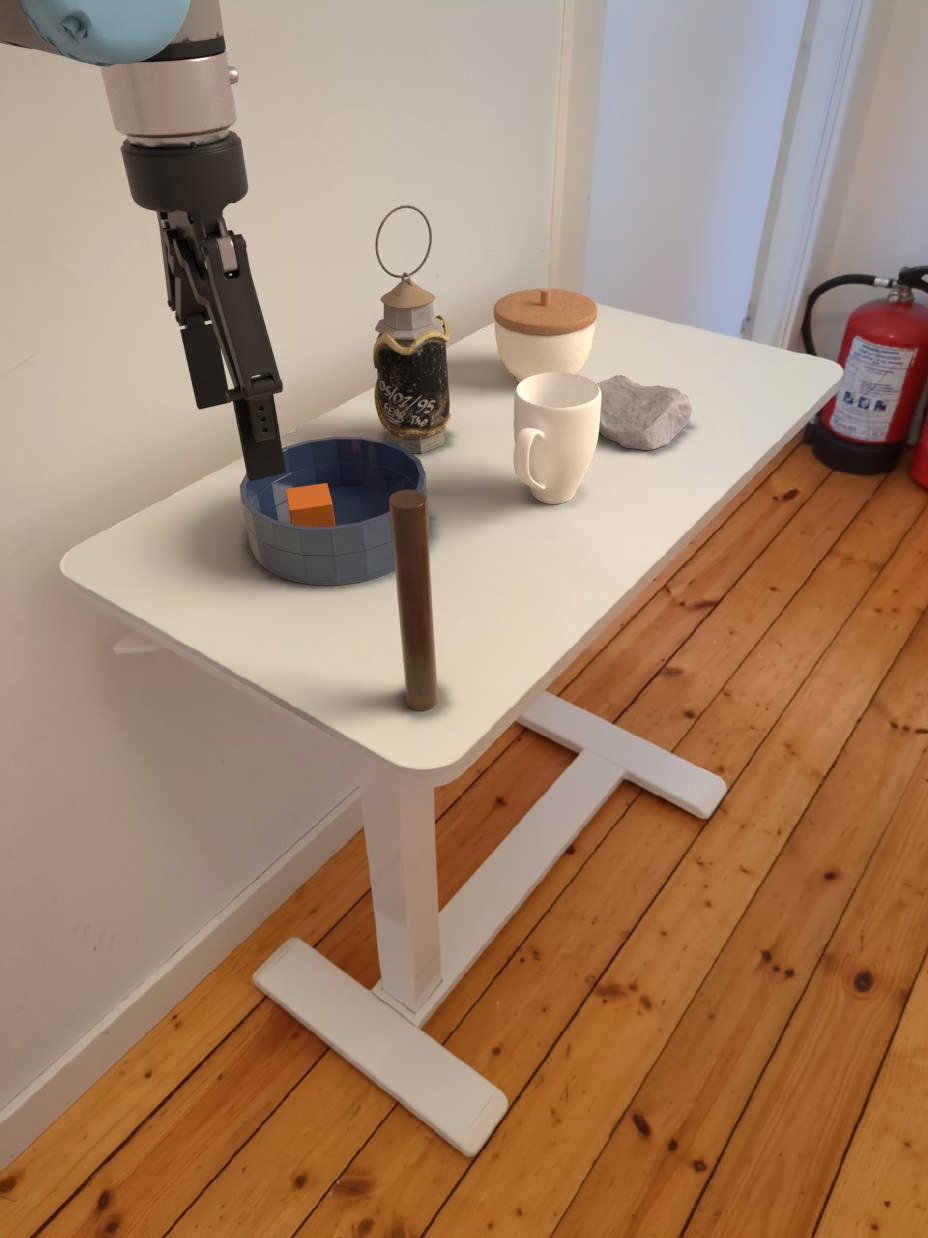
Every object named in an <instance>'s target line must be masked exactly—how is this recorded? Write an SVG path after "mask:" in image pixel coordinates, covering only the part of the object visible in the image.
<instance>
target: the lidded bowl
mask: <svg viewBox="0 0 928 1238" xmlns="http://www.w3.org/2000/svg"><path fill="white" fill-rule="evenodd" d="M597 317H598V305H597V304H596V302H595V301H594V300H593V299H592V298H591V297H589V296H587V295H584V294H582V293H580V292H576V291H572V290H571V291H570V290H565V289H560V288H559V289H557V288H546V287H545V288H535V289H534V288H533V289H525V290H519V291H515V292H512V293H509V294H506V295H503V296H502V297H501V298H499V299H498V300H497V301H496V302H495V303H494V305H493V319H494V335H495V345H496V348H497V352H498V355H499V358H500V360H501V362H502V364H503V366H504V367H505V368H506V370H507V371H508V372H509V373H510V374H511V375H512V376H514V379H515V380H516V382H517V383H518V384H519V383H520V382H521V381H523V380H524V379H526V378H528V377H531V376H534V375H538V374H543V373H554V372H560V373H571V374H576V375H577V373H578V372H579V371H580V370H581V369H582V368H583V366H584V365H585V364H586V362H587V360H588V358H589V356H590V354H591V350H592V347H593V343H594V337H595V329H596V320H597Z"/></svg>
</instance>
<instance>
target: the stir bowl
mask: <svg viewBox="0 0 928 1238" xmlns="http://www.w3.org/2000/svg"><path fill="white" fill-rule="evenodd" d="M282 450H283V456H284V462H285V468H286V472H285V473H281V474H277V475H273V476H270V477H266V478H262V479H258V480H255V481H251V482H250V480H249V479H248V477H247V473H245V474H244V476H243V478H242V480H241V482H240V484H239V495H240V502H241V507H242V512H243V517H244V521H245V526H246V532H247V536H248V540H249V547H250V549H251V551H252V554H253V557H254V558H255V559H256V561H257V562H258V563H259V564H260V565H261V566H262V567H263V568H264V569H265V570H267V571H268V572H269V573H271V574H273V575H275V576H277V577H279V578H282V579H284V580H287V581H290V582H293V583H299V584H303V585H312V586H343V585H351V584H357V583H361V582H366V581H370V580H373V579H377V578H380V577H383V576H385V575H387V574H389V573H391V572H393V571H394V572H395V563H394V552H393V541H392V529H391V518H390V507H389V498H390V496H391V495H392V494H394V493H396V492H398V491H401V490H417V491H420V492H422V493H423V494H424V495H425V496H426V505H427V522H428V525H429V523H430V519H429V517H430V516H429V501H428V499H429V498H428V484H427V473H426V470H425V468H424V466H423V464H422V461H421V459H420V458H419V457H417V456H416V455H415V454H414V453H411V452H410V451H408V450H407V449H406V448H403V447H401V446H398V445H396V444H393V443H391V442H388V441H387V440H383V439H380V438H379V439H378V438H373V437H368V436H355V435H354V436H347V435H346V436H345V435H336V436H335V435H334V436H327V437H320V438H312V439H306V440H303V441H300V442H296V443H292V444H290V445H287V446H284V447H283V446H282ZM324 483H327V484H328V488H329V493H330V497H331V501H332V505H333V512H334V520H335V526H332V527H314V526H298V525H294V524H291V519H290V513H289V507H288V501H287V495H286V489H289V488H296V487H303V486H310V485H317V484H324Z"/></svg>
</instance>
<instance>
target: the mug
mask: <svg viewBox="0 0 928 1238" xmlns="http://www.w3.org/2000/svg"><path fill="white" fill-rule="evenodd" d="M600 410H601V390H600V388H599V386H598V385H597V383H596V382H595V381H594V380H592V379H590V378H589V377H586V376H583V375H580V374H577V373H576V374H571V373H560V372H554V373H543V374H538V375H534V376H531V377H528V378H526V379H524V380H523V381H521V382H520V383H519V382H518V384H517V385H516V387H515V390H514V395H513V438H514V449H513V469H514V473H515V475H516V477H517V478H518V479H519V480H520V481H521V482H522V483H524V484H525V485H527V486H528V487H529V488H530V491H531V493H532V496H533V497H534V498H535V499H536V500H537V501H539V502H542V503H544V504H549V505H550V504H551V505H557V504H558V505H559V504H564V503H566V502H569V501H570V500H571V499H573V498H574V496H575V494H576V493H577V490H578V488H579V486H580V484H581V482H582V480H583V478H584V476H585V474H586V472H587V470H588V468H589V466H590V464H591V462H592V459H593V457H594V455H595V451H596V448H597V445H598V439H599V434H600V433H599V423H600Z"/></svg>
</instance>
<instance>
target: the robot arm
mask: <svg viewBox="0 0 928 1238" xmlns="http://www.w3.org/2000/svg"><path fill="white" fill-rule="evenodd" d="M0 44H2V45H7V46H13V47H17V48H23V49H28V50H35V51H36V50H37V51H41V52H45V53H49V54H52V55H57V56H61V57H64V58H67V59H71V60H73V61H77V62H79V63H83V64H87V65H91V66H92V65H93V66H97V67H100V72H101V77H102V80H103V85H104V88H105V94H106V97H107V102H108V105H109V109H110V115H111V118H112V122H113V126H114V129H115V130H116V131H117V132H119V133H120V134H121V135H124V136H126V138H125V139H124V140H123V142H122V145H121V146H120V154H121V157H122V158H121V159H122V161H123V166H124V170H125V175H126V178H127V184H128V187H129V192H130V196H131V198H132V201H133V202H134V203H135V204H136V205H137V206H139V207H140V208H143V209H145V210H148V211H152V212H155V213H156V216H157V222H158V226H159V227H158V228H159V237H160V243H161V252H162V261H163V270H164V277H165V278H164V279H165V287H166V295H167V300H166V301H167V302H166V303H167V306H168V308H170V310H171V312H174V318H175V322H176V323H177V324H178V326H179V327H184V328H181V329H179V332H180V337H181V341H182V346H183V351H184V355H185V359H186V364H187V368H188V372H189V377H190V382H191V386H192V391H193V395H194V400H195V404H196V407H197V409H198V410H199V411H200V410H205V409H209V408H213V407H218V406H222V405H226V404H230V403H232V407H233V411H234V415H235V420H236V426H237V432H238V436H239V442H240V446H241V452H242V456H243V457H242V458H243V462H244V468H245V472H246V473H247V477H248V479H249V480H250V482H251V481H255V480H258V479H262V478H266V477H270V476H273V475H277V474H281V473H285V472H286V468H285V462H284V456H283V450H282V448H283V444H282V437H281V431H280V426H279V421H278V415H277V413H278V412H277V407H276V402H275V394H280V393H283V390H284V384H283V381H282V378H281V376H280V371H279V369H278V365H277V361H276V358H275V355H274V350H273V346H272V343H271V340H270V337H269V333H268V328H267V326H266V322H265V319H264V314H263V310H262V307H261V303H260V301H259V297H258V293H257V290H256V286H255V283H254V278H253V275H252V271H251V267H250V261H249V256H248V250H247V247H248V246H247V241H246V239H245V238H244V236H243V234H242V233H237V234H235V232H234V230H233V229H228V227H227V223H226V219H225V217H224V210H225V208H226V207H228V206H229V205H230V204H236V203H238V202H240V201H242V200H243V199H244V198H245V197H246V196H247V194H248V191H249V182H248V175H247V167H246V162H245V156H244V155H245V154H244V149H243V143H242V138H241V137H239V136H238V134H237V133H236V132H235V131H232V130H230V128H232V127H233V126H234V124H235V123H236V122H237V121H238V117H237V111H236V104H235V97H234V92H233V90H232V85H235V84H237V83H238V82H239V78H240V77H239V70H238V69H237V68H236V67H235V66H233V65H229V60H228V59H229V58H228V54H227V46H226V41H225V31H224V24H223V18H222V12H221V5H220V0H0ZM210 321H211V323H207V324H206V322H210ZM223 359H224V360H223ZM224 362H225V364H224ZM225 365H226V368H227V371H228V374H229V376H230V377H229V378H230V380H231V383H232V386H233V388H230V389H229V384H228V380H227V375H226V369H225ZM246 473H245V474H246Z"/></svg>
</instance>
